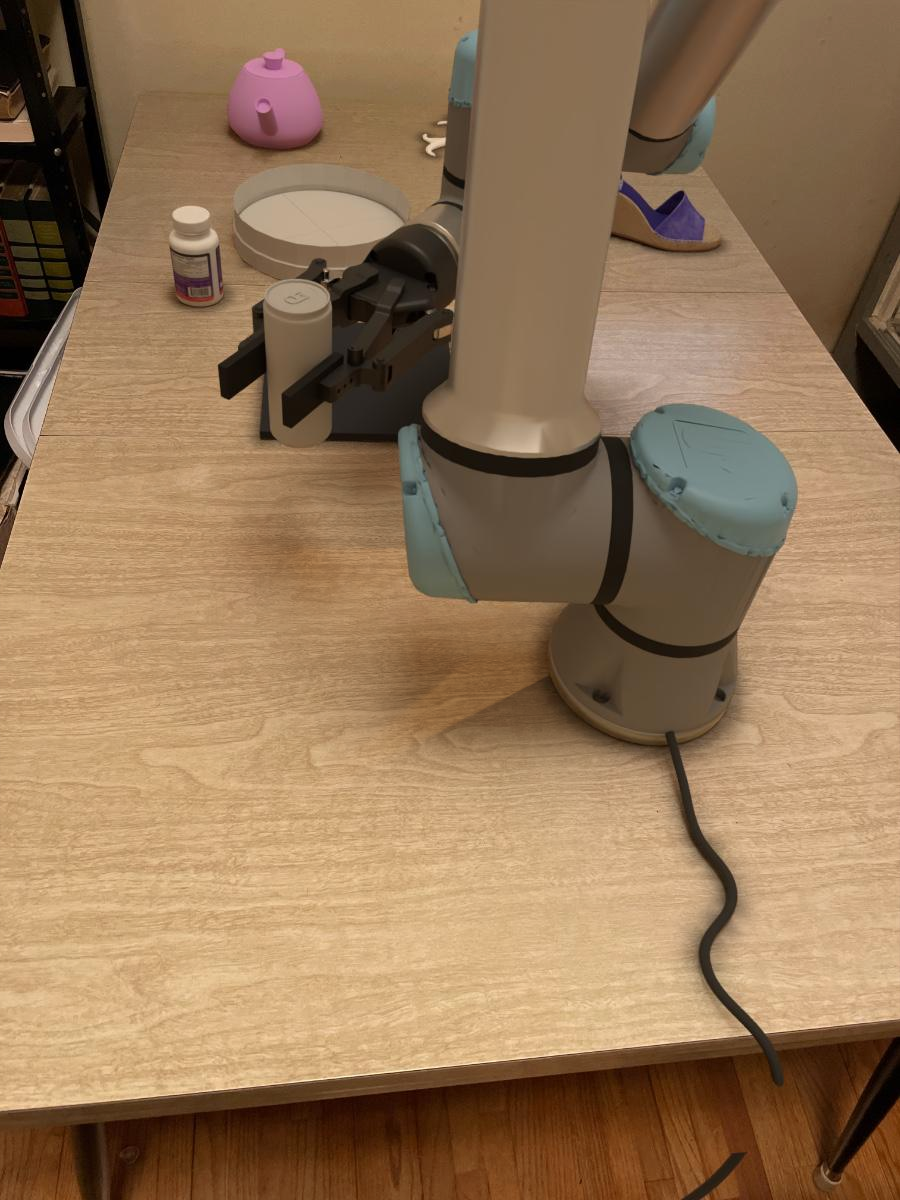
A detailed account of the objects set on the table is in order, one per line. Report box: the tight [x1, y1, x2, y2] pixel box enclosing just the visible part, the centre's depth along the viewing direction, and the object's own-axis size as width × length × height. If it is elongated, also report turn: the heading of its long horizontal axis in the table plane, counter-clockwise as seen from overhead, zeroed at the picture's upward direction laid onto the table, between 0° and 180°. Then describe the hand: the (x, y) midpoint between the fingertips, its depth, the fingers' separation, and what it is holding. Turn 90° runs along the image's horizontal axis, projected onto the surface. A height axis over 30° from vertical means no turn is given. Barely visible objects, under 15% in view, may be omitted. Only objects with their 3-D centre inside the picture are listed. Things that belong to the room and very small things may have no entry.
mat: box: [259, 322, 451, 443], centre depth 102 cm, size 20×20×1 cm
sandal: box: [611, 173, 723, 253], centre depth 126 cm, size 8×20×15 cm, turn 78°
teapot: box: [226, 47, 324, 150], centre depth 138 cm, size 14×20×11 cm
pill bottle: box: [168, 205, 224, 308], centre depth 107 cm, size 5×5×10 cm
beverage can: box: [263, 279, 332, 449], centre depth 72 cm, size 5×5×12 cm
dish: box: [232, 163, 411, 281], centre depth 120 cm, size 22×22×5 cm
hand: (255, 396), depth 68 cm, fingers closed on beverage can, 5 cm apart
